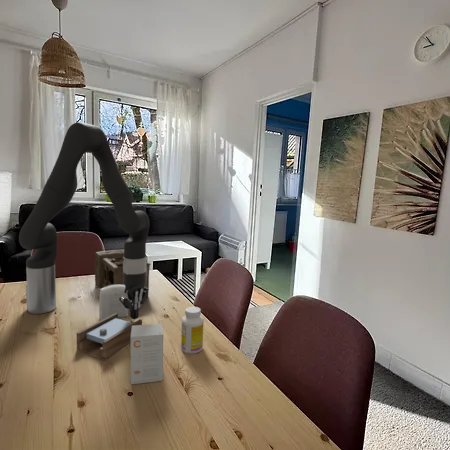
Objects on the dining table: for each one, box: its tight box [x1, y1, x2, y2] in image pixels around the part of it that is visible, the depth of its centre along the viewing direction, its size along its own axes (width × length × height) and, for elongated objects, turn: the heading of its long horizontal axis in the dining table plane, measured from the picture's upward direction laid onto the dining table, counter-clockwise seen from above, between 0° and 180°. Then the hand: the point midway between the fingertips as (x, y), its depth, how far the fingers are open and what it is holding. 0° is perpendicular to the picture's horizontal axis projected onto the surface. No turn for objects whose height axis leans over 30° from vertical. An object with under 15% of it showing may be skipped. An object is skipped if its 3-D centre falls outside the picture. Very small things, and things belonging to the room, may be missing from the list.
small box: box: [130, 323, 164, 385], centre depth 80 cm, size 8×6×13 cm
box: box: [76, 313, 143, 361], centre depth 96 cm, size 11×16×6 cm
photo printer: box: [98, 284, 129, 321], centre depth 113 cm, size 10×4×12 cm, turn 123°
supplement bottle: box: [180, 306, 204, 355], centre depth 94 cm, size 7×7×13 cm
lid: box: [86, 318, 134, 344], centre depth 96 cm, size 8×12×3 cm
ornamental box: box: [93, 248, 151, 299], centre depth 134 cm, size 35×18×18 cm, turn 39°
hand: (134, 318), depth 105 cm, fingers closed
